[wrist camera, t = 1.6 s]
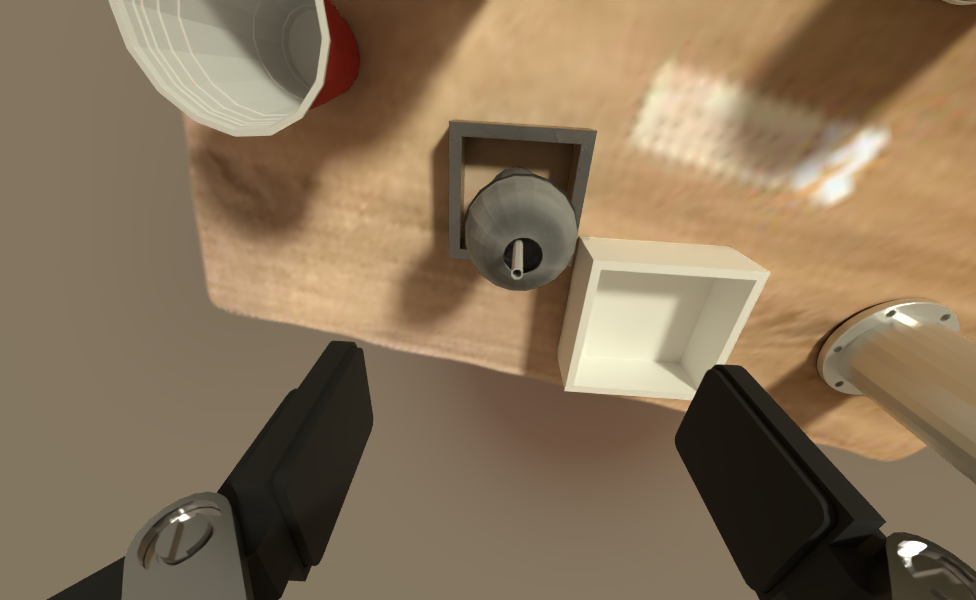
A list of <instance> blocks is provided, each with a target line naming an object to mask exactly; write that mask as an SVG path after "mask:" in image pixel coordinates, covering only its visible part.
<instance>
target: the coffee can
mask: <svg viewBox="0 0 976 600" xmlns="http://www.w3.org/2000/svg"><path fill="white" fill-rule="evenodd" d="M942 1H945V2H947V3H950V4H955V5H971V4H976V0H942Z"/></svg>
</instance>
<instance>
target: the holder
mask: <svg viewBox="0 0 976 600" xmlns="http://www.w3.org/2000/svg"><path fill="white" fill-rule="evenodd" d="M596 134H597V131H596V130H592V129H588V128H573V127H558V126H543V125H527V124H512V123H497V122H482V121H467V120H451V121H449V259H464V260H471V258H470V255H469V253H468V250H467V247H466V244H465V241H464V238H463V220H464V176H465V137H480V138H495V139H510V140H525V141H540V142H556V143H571V144H574V148H573V154H572V161H571V167H570V173H569V179H568V185H567V191H566V194H567V196H568V198H569V199H570V201H571V203H572V204H573V206H574V208H575V213H576V218H577V224H578V228H579V223H580V218H581V213H582V207H583V202H584V197H585V192H586V186H587V181H588V176H589V171H590V165H591V160H592V155H593V150H594V144H595V139H596ZM578 228H577V234H578ZM573 255H574V253H573ZM573 255H572V257H571V259H570V261H569V263H568V265H567V267H571V265H572V260H573Z"/></svg>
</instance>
